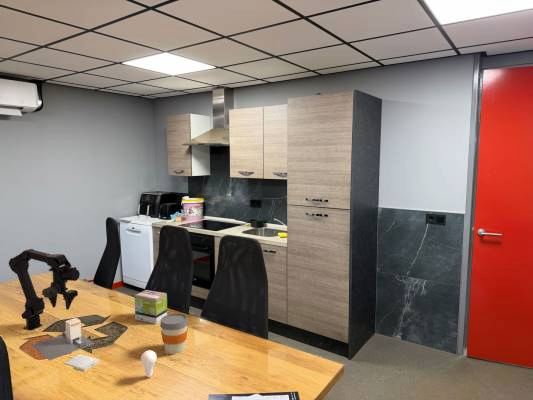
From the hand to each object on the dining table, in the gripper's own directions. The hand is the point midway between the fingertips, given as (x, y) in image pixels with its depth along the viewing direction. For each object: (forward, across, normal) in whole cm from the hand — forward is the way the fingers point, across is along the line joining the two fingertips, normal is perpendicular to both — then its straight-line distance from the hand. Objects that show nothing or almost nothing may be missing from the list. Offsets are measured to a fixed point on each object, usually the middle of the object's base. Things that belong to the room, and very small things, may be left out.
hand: (60, 308), depth 192 cm
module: (+11, +16, -7) cm, 21 cm away
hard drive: (+13, +36, -21) cm, 43 cm away
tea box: (+12, +35, +28) cm, 46 cm away
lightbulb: (+12, +70, -20) cm, 74 cm away
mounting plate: (+12, +14, -12) cm, 22 cm away
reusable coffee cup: (+12, +67, +3) cm, 68 cm away
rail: (+11, +16, -7) cm, 21 cm away
